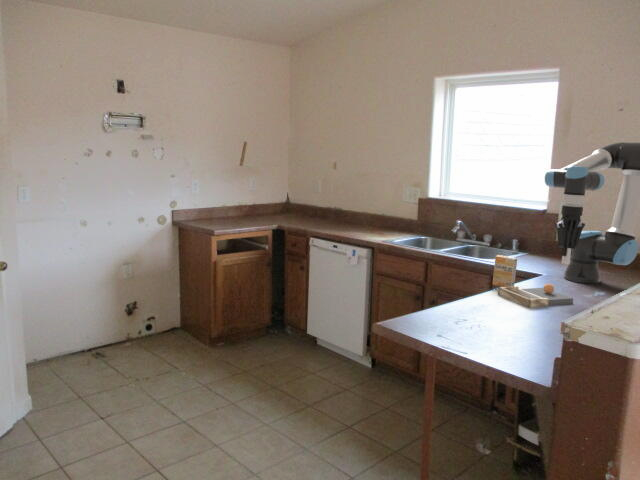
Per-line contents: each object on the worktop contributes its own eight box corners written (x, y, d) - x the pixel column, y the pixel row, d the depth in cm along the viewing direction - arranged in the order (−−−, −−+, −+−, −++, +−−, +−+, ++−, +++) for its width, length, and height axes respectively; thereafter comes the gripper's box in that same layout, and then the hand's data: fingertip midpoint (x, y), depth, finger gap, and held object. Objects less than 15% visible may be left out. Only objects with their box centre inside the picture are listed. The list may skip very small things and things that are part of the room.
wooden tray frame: (516, 293, 218) (517, 286, 217) (547, 306, 201) (548, 298, 200) (498, 294, 215) (498, 287, 214) (528, 307, 198) (529, 299, 198)
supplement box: (491, 285, 229) (494, 256, 227) (495, 283, 233) (498, 254, 231) (510, 289, 224) (514, 259, 222) (514, 287, 228) (517, 257, 226)
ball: (548, 291, 214) (549, 282, 213) (555, 294, 210) (557, 284, 210) (540, 292, 213) (541, 282, 212) (547, 295, 209) (548, 285, 208)
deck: (543, 292, 221) (544, 287, 221) (572, 303, 206) (573, 298, 206) (517, 293, 217) (518, 289, 216) (545, 305, 202) (546, 300, 202)
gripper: (578, 204, 213) (571, 261, 217) (552, 204, 209) (545, 262, 213) (593, 206, 206) (585, 265, 210) (566, 206, 202) (559, 266, 206)
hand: (565, 263), depth 212 cm, fingers closed
